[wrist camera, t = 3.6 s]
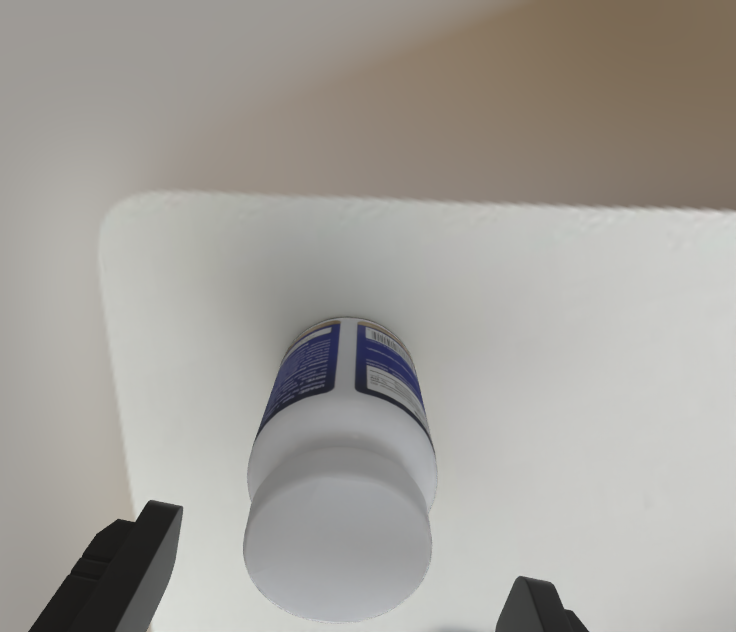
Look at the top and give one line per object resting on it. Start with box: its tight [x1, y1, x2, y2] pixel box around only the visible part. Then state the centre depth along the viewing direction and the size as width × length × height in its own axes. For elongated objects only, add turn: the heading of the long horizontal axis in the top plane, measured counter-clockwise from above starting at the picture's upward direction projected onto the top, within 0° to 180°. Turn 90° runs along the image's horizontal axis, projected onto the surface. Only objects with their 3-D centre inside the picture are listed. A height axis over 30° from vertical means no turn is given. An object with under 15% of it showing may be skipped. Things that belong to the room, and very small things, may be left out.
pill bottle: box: [243, 318, 437, 623], centre depth 17 cm, size 6×6×10 cm
